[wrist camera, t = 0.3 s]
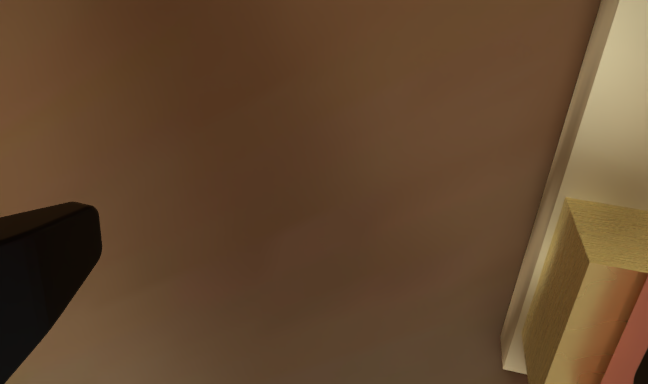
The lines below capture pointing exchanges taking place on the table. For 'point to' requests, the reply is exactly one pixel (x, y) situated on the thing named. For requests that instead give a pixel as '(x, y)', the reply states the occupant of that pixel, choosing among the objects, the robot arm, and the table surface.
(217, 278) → the table surface
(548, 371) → the tan rectangular block
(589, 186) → the plane body
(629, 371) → the lever
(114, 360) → the table surface
